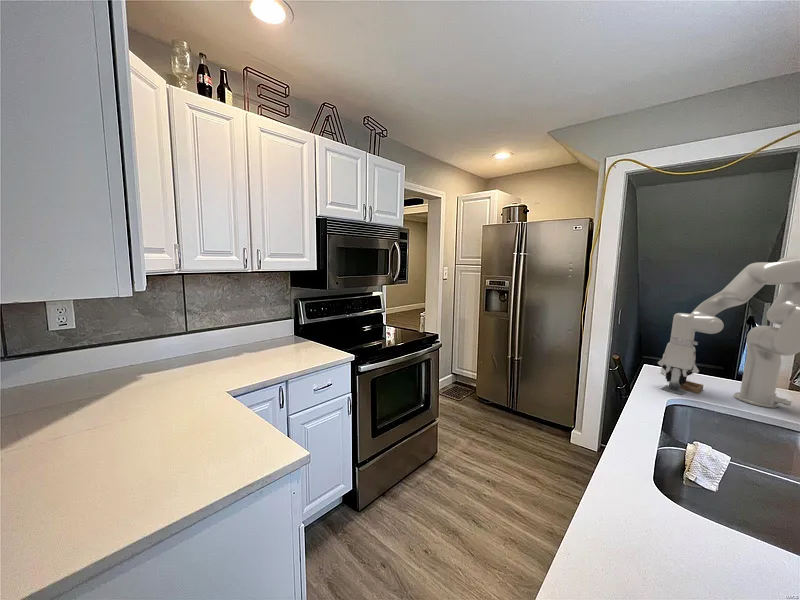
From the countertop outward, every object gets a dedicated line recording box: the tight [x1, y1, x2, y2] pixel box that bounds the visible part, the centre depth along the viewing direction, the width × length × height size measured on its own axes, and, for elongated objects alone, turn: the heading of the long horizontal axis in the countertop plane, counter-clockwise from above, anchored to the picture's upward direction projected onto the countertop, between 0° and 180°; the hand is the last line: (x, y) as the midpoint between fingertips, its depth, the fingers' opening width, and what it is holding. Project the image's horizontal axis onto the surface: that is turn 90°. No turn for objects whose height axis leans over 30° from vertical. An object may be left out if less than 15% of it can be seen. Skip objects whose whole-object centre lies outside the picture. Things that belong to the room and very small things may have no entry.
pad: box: [660, 384, 687, 396], centre depth 143 cm, size 7×7×1 cm
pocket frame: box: [680, 380, 705, 395], centre depth 147 cm, size 8×8×2 cm
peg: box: [668, 367, 683, 389], centre depth 142 cm, size 4×4×9 cm
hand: (675, 382), depth 143 cm, fingers closed on peg, 4 cm apart
